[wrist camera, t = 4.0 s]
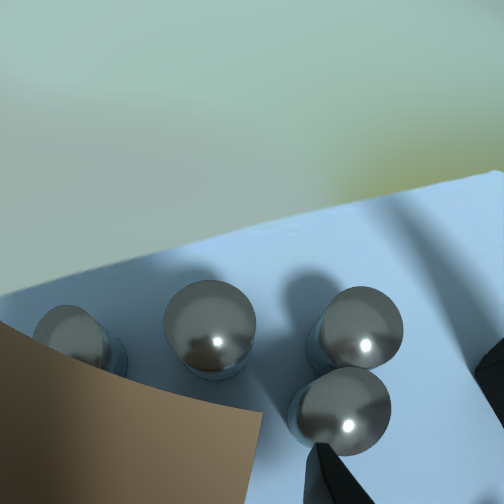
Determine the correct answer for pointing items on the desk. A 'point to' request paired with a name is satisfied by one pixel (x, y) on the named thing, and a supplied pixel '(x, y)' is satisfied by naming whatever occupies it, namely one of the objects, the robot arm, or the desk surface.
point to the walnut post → (112, 436)
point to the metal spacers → (239, 349)
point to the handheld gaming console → (493, 378)
